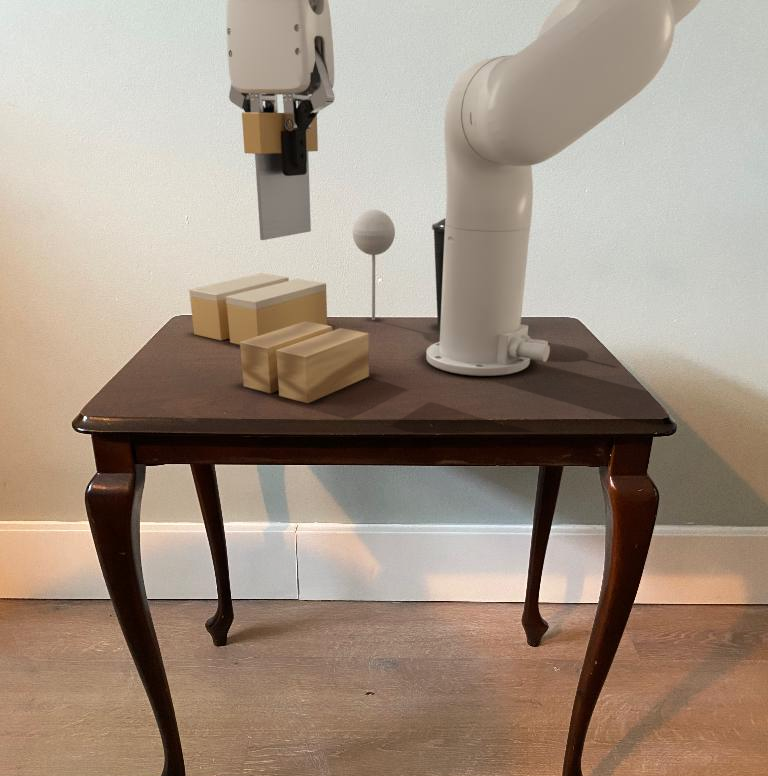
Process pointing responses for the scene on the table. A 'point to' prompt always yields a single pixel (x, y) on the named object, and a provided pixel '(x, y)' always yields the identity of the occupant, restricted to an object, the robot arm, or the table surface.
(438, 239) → the drinking cup
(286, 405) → the table surface
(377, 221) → the lollipop
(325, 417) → the table surface
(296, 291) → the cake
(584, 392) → the table surface
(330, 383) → the split wooden block
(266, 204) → the knife
